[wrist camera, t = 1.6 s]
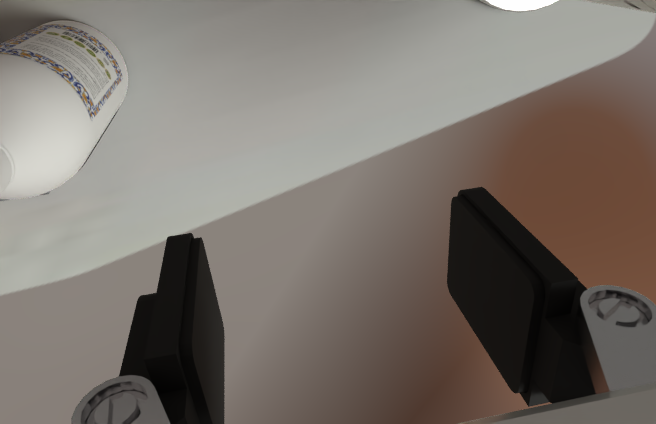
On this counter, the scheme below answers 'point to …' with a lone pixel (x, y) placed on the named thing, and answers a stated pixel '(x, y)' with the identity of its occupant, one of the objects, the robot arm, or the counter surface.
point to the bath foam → (55, 103)
